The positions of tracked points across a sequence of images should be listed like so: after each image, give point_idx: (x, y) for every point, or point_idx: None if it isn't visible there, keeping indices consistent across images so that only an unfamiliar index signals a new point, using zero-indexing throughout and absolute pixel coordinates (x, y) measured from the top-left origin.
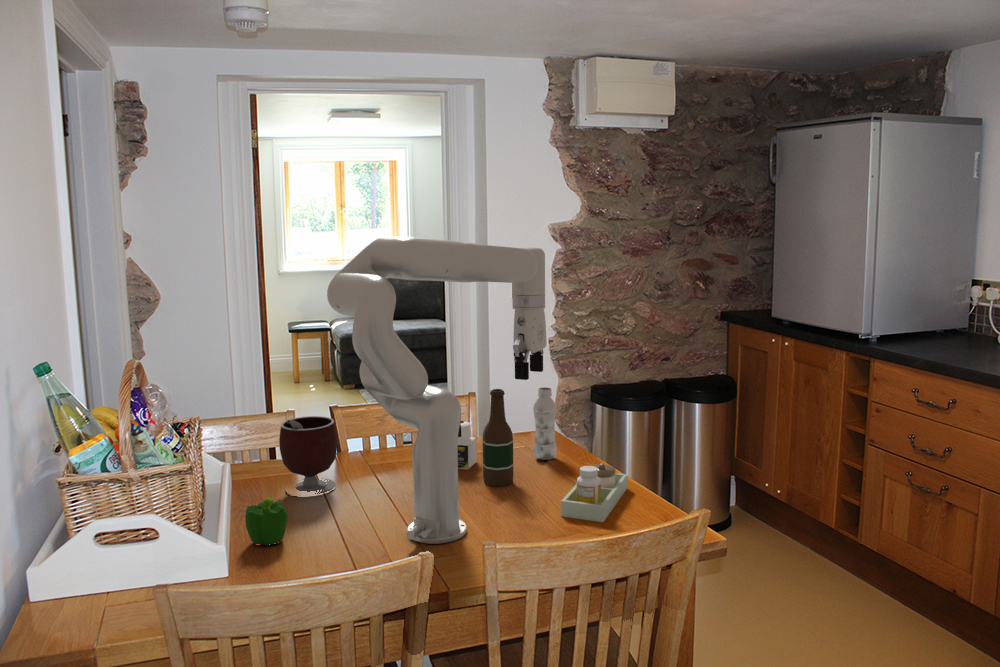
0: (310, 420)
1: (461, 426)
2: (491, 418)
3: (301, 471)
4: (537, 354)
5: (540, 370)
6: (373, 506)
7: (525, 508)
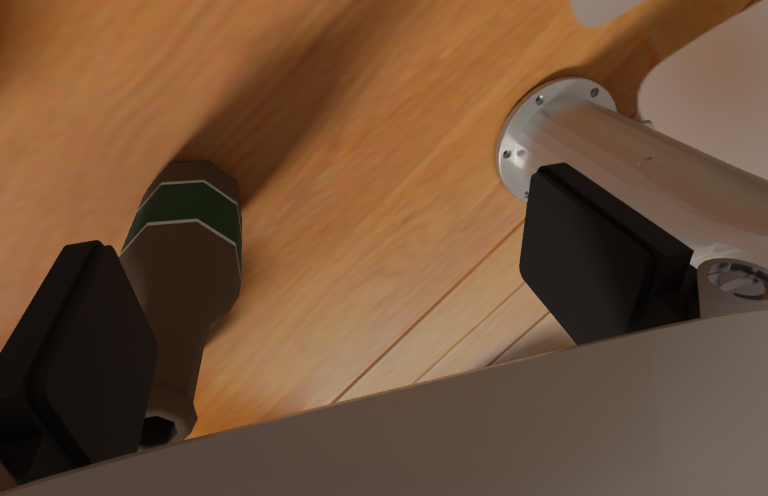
0: None
1: None
2: (207, 334)
3: None
4: (58, 462)
5: (113, 259)
6: (466, 316)
7: (343, 18)
